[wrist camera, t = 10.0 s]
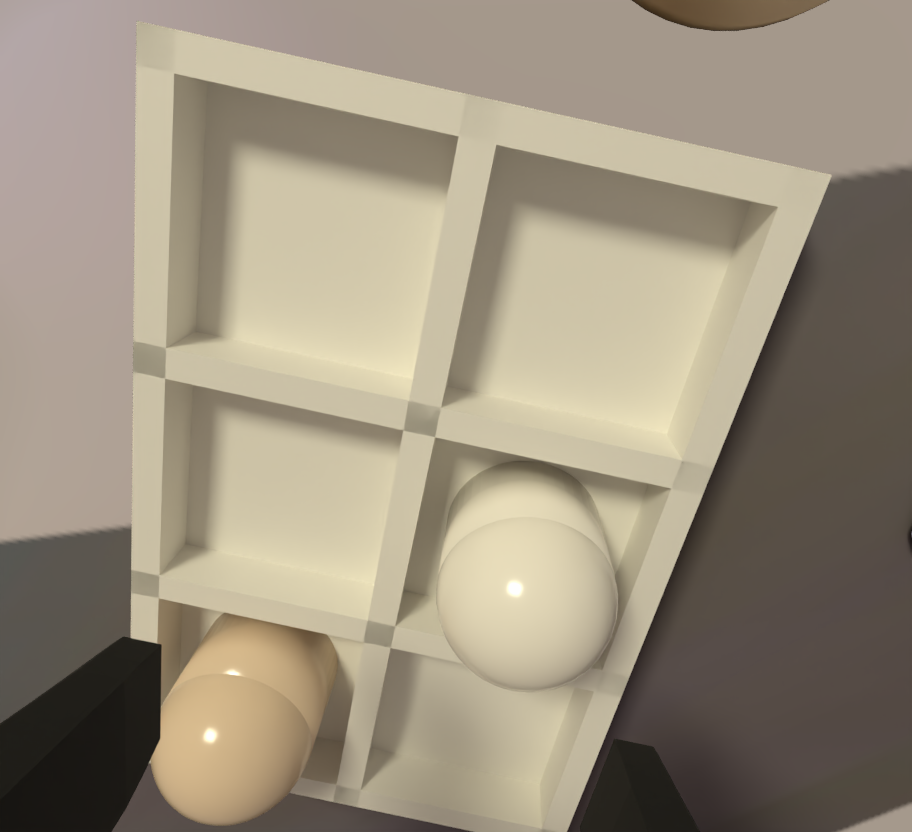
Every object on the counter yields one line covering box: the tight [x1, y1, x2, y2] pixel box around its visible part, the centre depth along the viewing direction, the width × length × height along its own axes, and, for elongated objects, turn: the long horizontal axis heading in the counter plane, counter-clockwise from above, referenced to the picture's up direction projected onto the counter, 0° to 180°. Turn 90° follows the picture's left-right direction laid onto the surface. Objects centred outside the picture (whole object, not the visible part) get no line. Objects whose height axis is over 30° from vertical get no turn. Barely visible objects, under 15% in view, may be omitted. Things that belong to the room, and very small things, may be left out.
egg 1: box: [150, 613, 338, 826], centre depth 19 cm, size 4×4×5 cm
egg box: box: [131, 21, 832, 832], centre depth 18 cm, size 14×21×2 cm
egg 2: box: [436, 461, 618, 693], centre depth 16 cm, size 4×4×5 cm
